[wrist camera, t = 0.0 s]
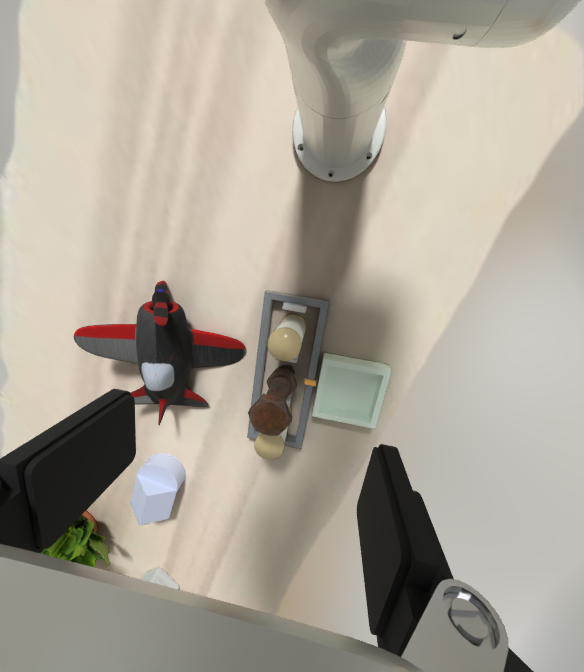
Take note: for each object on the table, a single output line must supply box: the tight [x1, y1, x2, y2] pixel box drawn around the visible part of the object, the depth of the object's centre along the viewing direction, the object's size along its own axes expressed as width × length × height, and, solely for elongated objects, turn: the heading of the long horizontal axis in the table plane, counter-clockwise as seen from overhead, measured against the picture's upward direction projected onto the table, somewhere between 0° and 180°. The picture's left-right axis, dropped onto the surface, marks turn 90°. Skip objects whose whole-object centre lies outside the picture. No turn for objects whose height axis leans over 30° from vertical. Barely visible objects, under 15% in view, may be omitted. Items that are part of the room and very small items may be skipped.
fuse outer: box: [254, 407, 292, 460], centre depth 47 cm, size 5×5×10 cm
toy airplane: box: [74, 281, 246, 425], centre depth 47 cm, size 28×24×15 cm
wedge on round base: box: [130, 453, 186, 526], centre depth 57 cm, size 9×7×13 cm
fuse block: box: [247, 290, 329, 449], centre depth 48 cm, size 11×28×4 cm, turn 171°
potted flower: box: [40, 511, 110, 568], centre depth 59 cm, size 25×24×18 cm
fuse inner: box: [268, 314, 306, 361], centre depth 42 cm, size 5×5×10 cm
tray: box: [312, 353, 391, 429], centre depth 47 cm, size 11×11×3 cm
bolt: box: [248, 365, 297, 436], centre depth 42 cm, size 6×5×15 cm
